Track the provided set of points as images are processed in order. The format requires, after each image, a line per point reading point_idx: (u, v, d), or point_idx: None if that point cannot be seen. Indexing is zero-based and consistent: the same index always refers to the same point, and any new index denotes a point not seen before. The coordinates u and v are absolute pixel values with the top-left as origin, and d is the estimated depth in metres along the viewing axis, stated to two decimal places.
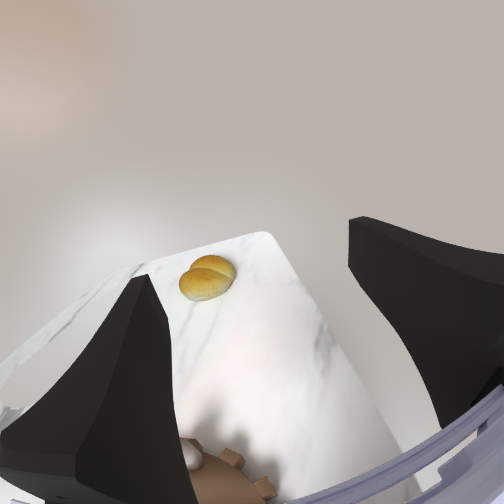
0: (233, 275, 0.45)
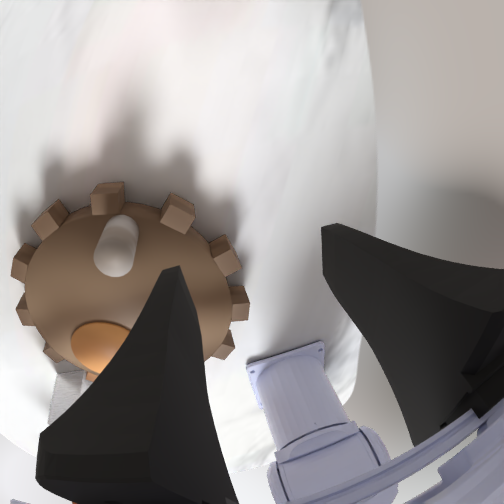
0: None
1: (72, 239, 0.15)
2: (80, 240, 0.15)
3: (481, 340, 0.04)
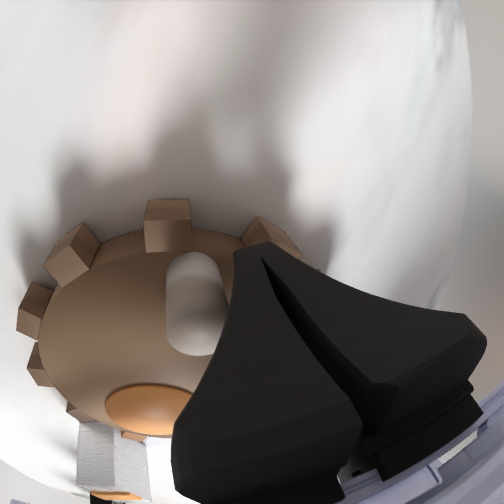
0: None
1: (111, 286, 0.10)
2: (125, 287, 0.10)
3: (369, 408, 0.03)
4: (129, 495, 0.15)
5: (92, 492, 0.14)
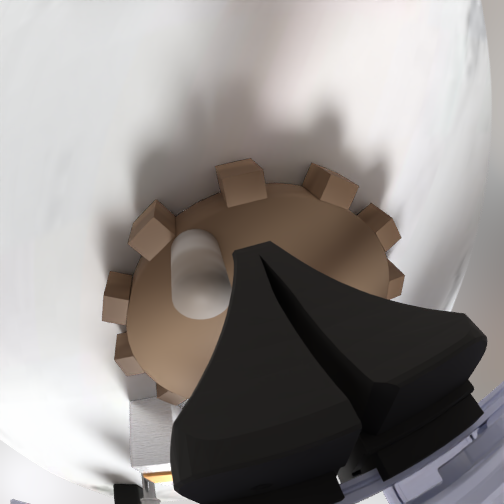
0: None
1: (152, 300, 0.13)
2: (160, 294, 0.13)
3: (371, 407, 0.03)
4: None
5: (145, 474, 0.16)
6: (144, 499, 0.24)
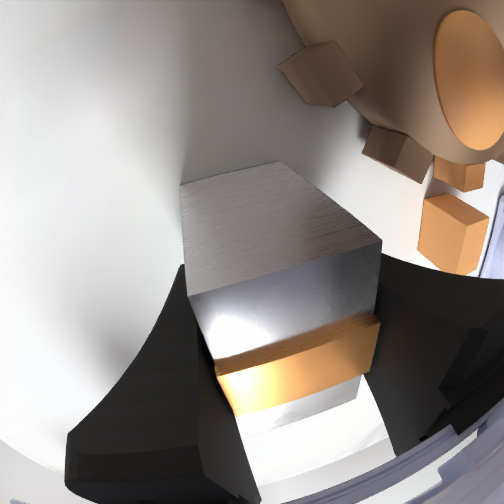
0: None
1: None
2: None
3: (459, 357, 0.04)
4: (374, 328, 0.06)
5: (223, 367, 0.06)
6: None
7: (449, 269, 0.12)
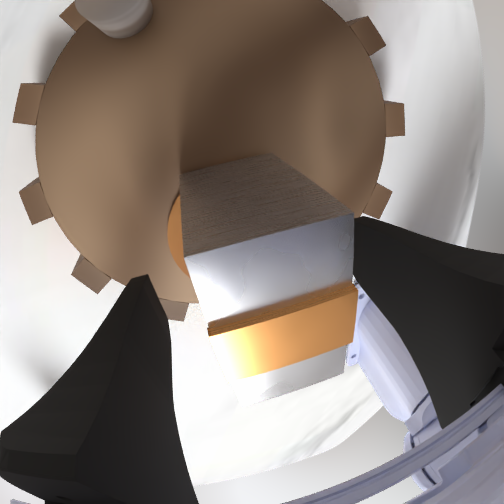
0: None
1: (69, 81, 0.08)
2: (79, 72, 0.08)
3: None
4: (353, 297, 0.07)
5: (215, 328, 0.07)
6: None
7: None
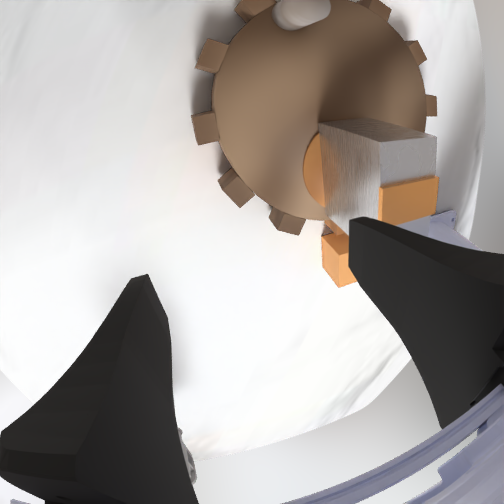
0: None
1: (249, 48, 0.13)
2: (257, 43, 0.13)
3: None
4: (436, 181, 0.12)
5: (383, 186, 0.12)
6: None
7: (336, 280, 0.22)
